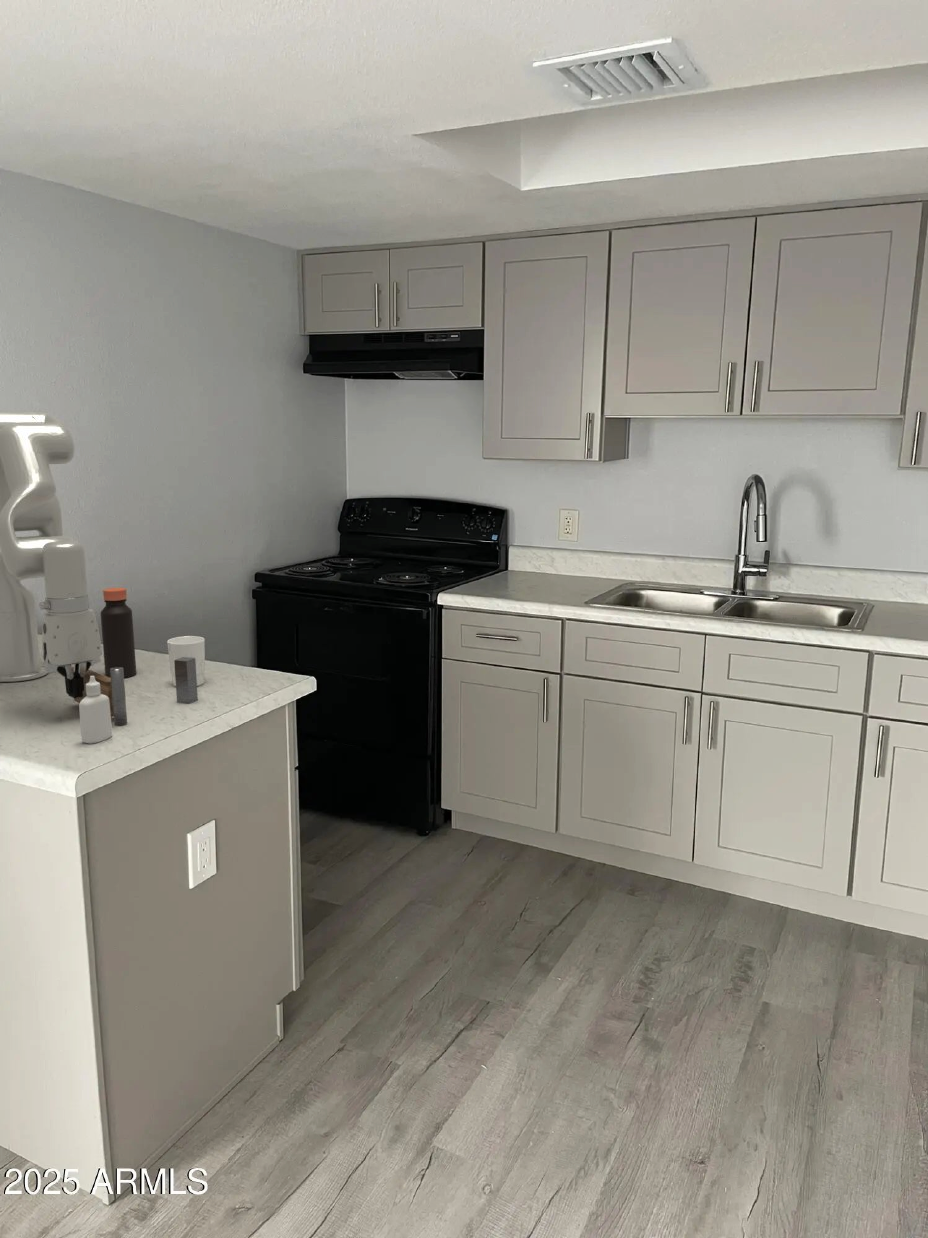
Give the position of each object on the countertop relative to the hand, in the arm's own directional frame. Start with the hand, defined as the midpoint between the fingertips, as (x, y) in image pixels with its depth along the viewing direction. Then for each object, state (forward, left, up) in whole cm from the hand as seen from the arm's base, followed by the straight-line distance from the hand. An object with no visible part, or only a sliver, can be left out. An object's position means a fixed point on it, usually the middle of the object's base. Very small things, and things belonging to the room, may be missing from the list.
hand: (75, 696), depth 190 cm
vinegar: (-12, +29, -4) cm, 32 cm away
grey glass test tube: (+12, -1, -4) cm, 12 cm away
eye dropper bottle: (+14, -10, -4) cm, 18 cm away
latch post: (+14, +16, -4) cm, 22 cm away
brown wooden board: (+2, +3, -3) cm, 5 cm away
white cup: (+7, +28, -4) cm, 29 cm away
